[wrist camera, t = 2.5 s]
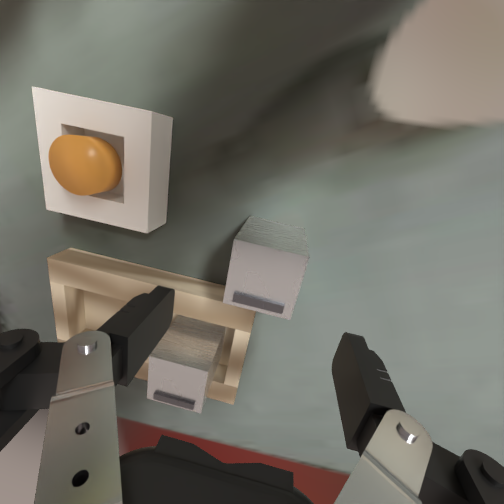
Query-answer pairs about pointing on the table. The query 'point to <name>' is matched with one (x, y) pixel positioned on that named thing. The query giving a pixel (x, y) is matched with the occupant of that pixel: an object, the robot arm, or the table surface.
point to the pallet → (133, 284)
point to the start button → (84, 164)
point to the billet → (185, 363)
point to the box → (127, 147)
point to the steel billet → (267, 267)
